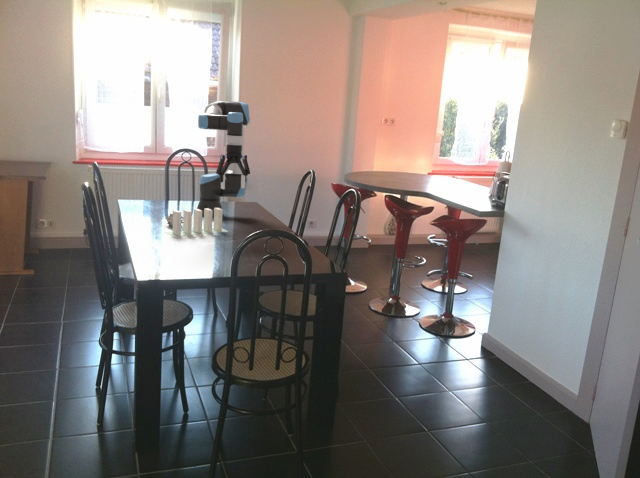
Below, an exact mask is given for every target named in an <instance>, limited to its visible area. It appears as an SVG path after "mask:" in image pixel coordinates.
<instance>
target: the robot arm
mask: <svg viewBox="0 0 640 478" xmlns="http://www.w3.org/2000/svg"><path fill="white" fill-rule="evenodd" d="M197 120H198V121H197V123H198V124H197V126H198V128H199V129H201V130H202V129H203V130H213V131H215V130H216V131H217V130H218V131H226V154H220V155H219V156H220V157H219V158H220V159H219V162H218V166H217V168H216V171H215V173H207V174H203V175H201V176H200V178H199V201H198V204H197V207H196V209H199V210H202V217H204V209H205V208H208V209H211V210H213V213H212V218H214V208H220V209H223V208H222V207H223V206H222V204H221V198H234V199H235V198H236V199H237V198H238V199H239V198H244V197H245V195H246V191H247V185H248V180H249V179H248V177H247V176H248V175H250V174H251V171H250V166H249V163H248V155H247V154H244V152H245V151H244V150H245V149H244V148H245V147H244V146H245V129H246V128H247V127H248V124H250V123H251V120H250V108H249V104H248V103H247V102H242V101H229V100H219V101H214V102H210V103H209V104H207V106H205V109H204V113H199V115H198V119H197ZM223 215H224V211H223V212H222V216H223Z"/></svg>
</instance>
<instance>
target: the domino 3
mask: <svg viewBox="0 0 640 478" xmlns="http://www.w3.org/2000/svg"><path fill="white" fill-rule="evenodd" d="M202 228H203V216H202V210H199V209H197V208H194V209H193V229H192V230H193V231H195V232H197V233H202Z"/></svg>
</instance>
